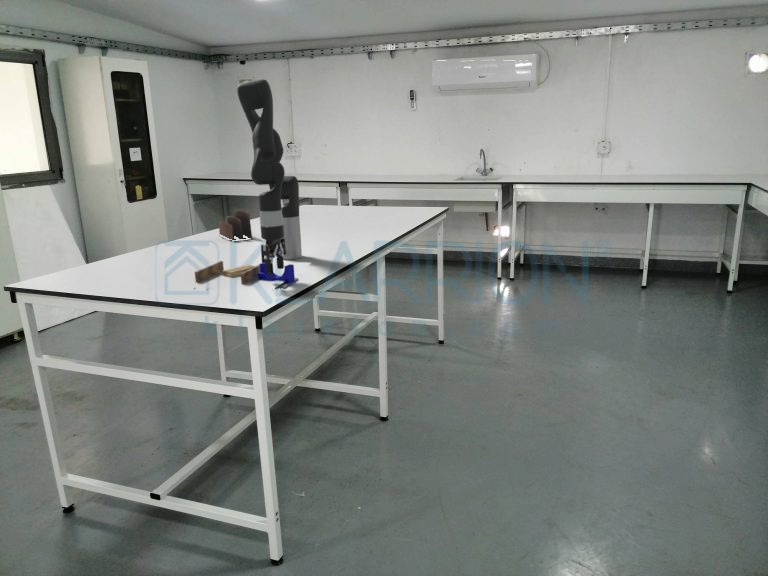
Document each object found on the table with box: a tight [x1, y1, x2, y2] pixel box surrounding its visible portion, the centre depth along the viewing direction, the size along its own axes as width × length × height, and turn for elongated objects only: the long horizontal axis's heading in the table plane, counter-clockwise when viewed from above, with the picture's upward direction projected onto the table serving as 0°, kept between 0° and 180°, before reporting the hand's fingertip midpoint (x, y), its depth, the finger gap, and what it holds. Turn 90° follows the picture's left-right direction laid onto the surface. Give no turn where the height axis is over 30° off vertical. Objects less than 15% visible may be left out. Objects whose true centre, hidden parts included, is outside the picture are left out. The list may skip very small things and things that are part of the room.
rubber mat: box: [275, 277, 299, 289], centre depth 189 cm, size 12×11×1 cm
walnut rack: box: [194, 260, 260, 285], centre depth 193 cm, size 17×18×5 cm
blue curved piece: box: [257, 262, 296, 285], centre depth 188 cm, size 12×4×6 cm, turn 63°
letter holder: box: [218, 209, 253, 240], centre depth 277 cm, size 10×20×14 cm, turn 35°
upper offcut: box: [221, 264, 256, 278], centre depth 198 cm, size 5×11×2 cm, turn 141°
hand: (275, 271), depth 188 cm, fingers open, 8 cm apart
